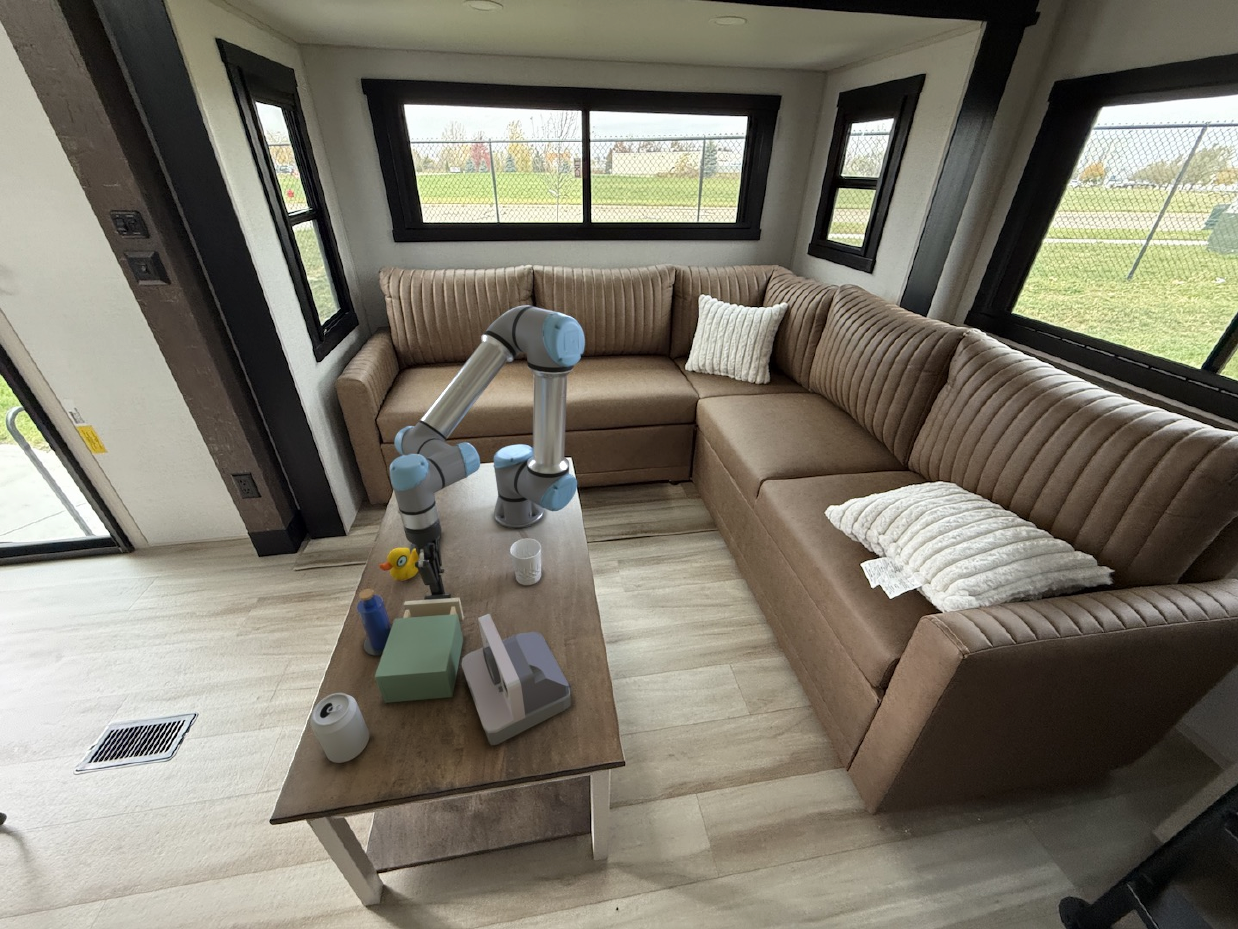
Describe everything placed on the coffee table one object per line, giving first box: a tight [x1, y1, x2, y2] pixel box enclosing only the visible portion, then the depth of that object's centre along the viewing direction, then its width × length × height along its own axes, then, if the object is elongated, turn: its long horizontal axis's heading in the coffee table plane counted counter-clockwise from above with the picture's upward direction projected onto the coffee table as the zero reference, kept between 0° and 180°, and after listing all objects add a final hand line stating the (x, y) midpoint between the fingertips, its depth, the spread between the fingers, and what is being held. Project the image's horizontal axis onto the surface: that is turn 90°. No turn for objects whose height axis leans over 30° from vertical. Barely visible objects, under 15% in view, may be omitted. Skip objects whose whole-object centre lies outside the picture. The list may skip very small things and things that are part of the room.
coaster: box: [363, 625, 392, 657], centre depth 115 cm, size 8×8×1 cm
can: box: [309, 692, 370, 764], centre depth 91 cm, size 8×8×12 cm
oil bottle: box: [356, 588, 392, 650], centre depth 111 cm, size 5×5×15 cm
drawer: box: [402, 593, 465, 622], centre depth 114 cm, size 18×12×7 cm
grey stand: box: [461, 613, 572, 746], centre depth 101 cm, size 21×21×15 cm
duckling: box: [379, 547, 419, 581], centre depth 129 cm, size 11×5×10 cm, turn 144°
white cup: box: [509, 537, 542, 586], centre depth 131 cm, size 8×8×10 cm
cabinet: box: [374, 614, 464, 704], centre depth 107 cm, size 15×14×9 cm
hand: (438, 596), depth 122 cm, fingers closed
